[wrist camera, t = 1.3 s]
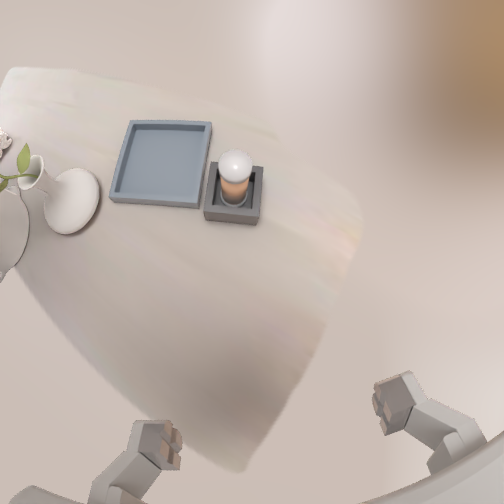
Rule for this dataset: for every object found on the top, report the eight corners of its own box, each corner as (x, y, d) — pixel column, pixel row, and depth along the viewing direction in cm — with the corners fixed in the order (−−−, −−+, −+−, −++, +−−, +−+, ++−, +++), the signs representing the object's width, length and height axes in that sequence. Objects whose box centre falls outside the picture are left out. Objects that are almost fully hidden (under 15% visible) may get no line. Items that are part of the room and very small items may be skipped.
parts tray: (114, 202, 41) (108, 197, 39) (134, 127, 44) (130, 120, 41) (198, 208, 42) (197, 203, 40) (212, 130, 44) (211, 121, 42)
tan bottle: (219, 207, 41) (216, 177, 31) (222, 183, 42) (220, 147, 31) (245, 210, 42) (250, 180, 31) (247, 186, 42) (254, 151, 31)
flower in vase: (91, 160, 42) (16, 71, 18) (113, 212, 41) (19, 132, 16) (37, 201, 40) (-54, 143, 16) (54, 254, 39) (-57, 216, 15)
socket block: (206, 220, 42) (203, 211, 37) (212, 174, 43) (210, 161, 39) (256, 225, 42) (259, 216, 38) (260, 179, 44) (263, 166, 39)
